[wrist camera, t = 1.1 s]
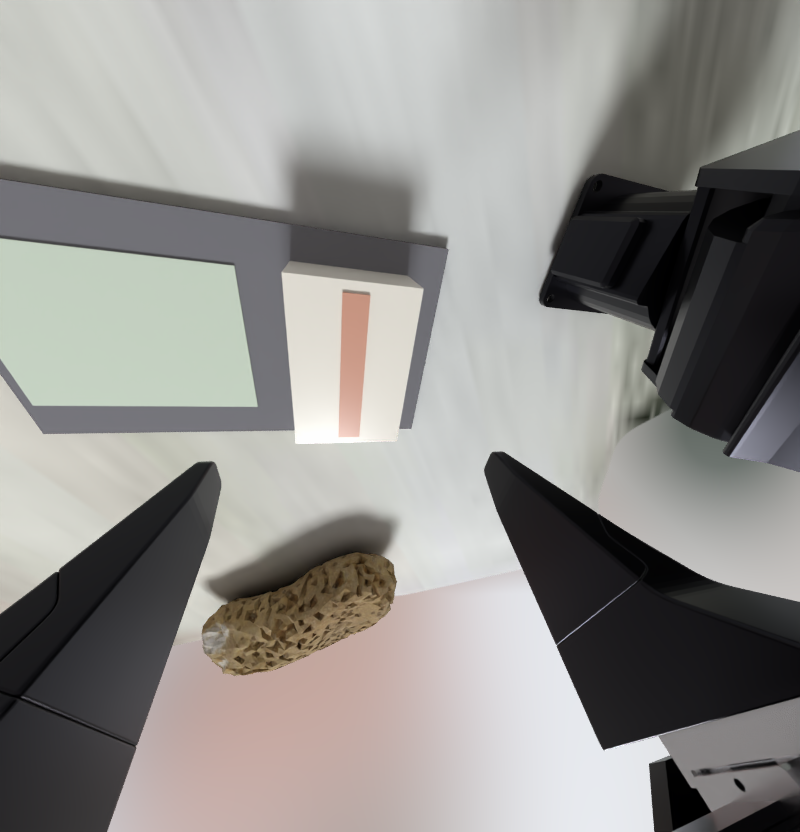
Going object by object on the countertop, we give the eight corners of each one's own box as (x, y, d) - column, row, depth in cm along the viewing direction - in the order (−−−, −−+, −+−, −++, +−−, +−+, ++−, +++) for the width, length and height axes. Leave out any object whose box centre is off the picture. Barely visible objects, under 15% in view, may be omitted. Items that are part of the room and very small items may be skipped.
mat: (446, 248, 15) (449, 249, 15) (410, 425, 22) (411, 429, 22) (-144, 156, 10) (-163, 154, 9) (48, 429, 16) (41, 434, 16)
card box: (407, 275, 15) (424, 289, 13) (388, 412, 20) (397, 442, 18) (289, 260, 14) (280, 272, 11) (300, 412, 19) (295, 445, 16)
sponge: (259, 613, 37) (409, 605, 35) (225, 692, 30) (409, 686, 28) (215, 546, 31) (392, 532, 29) (160, 625, 24) (386, 613, 23)
